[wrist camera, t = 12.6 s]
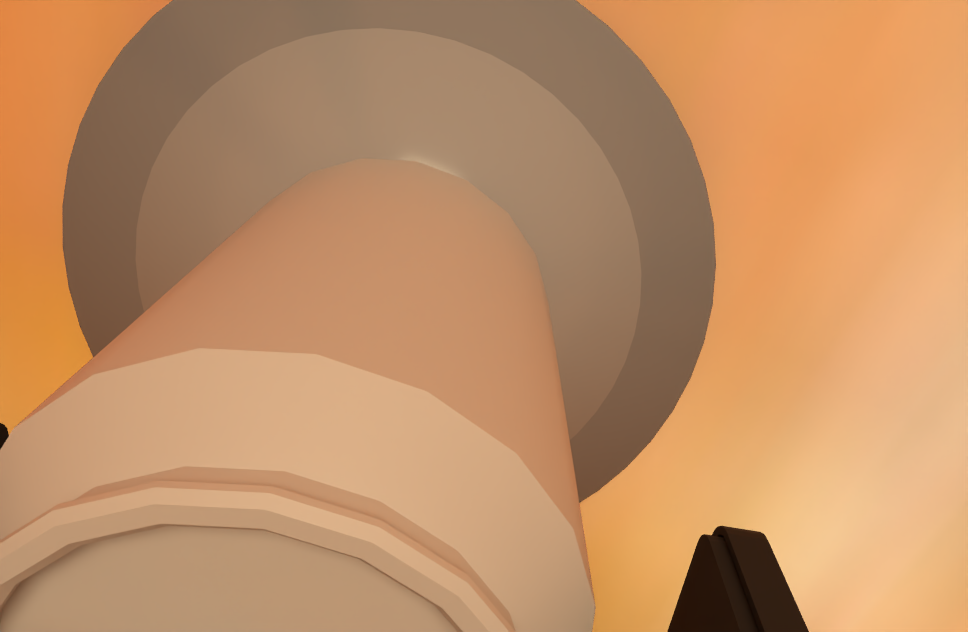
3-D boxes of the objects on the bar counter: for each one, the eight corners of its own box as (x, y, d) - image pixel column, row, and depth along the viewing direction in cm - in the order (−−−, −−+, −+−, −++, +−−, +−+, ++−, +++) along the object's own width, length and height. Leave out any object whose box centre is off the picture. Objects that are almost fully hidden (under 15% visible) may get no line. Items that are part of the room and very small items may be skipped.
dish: (786, 2, 17) (808, 2, 15) (624, 555, 23) (631, 586, 22) (65, -120, 16) (30, -129, 15) (104, 485, 22) (81, 512, 21)
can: (454, 474, 20) (400, 1042, 9) (198, 351, 19) (-223, 844, 8) (605, 248, 18) (780, 670, 7) (319, 86, 16) (-60, 276, 5)
